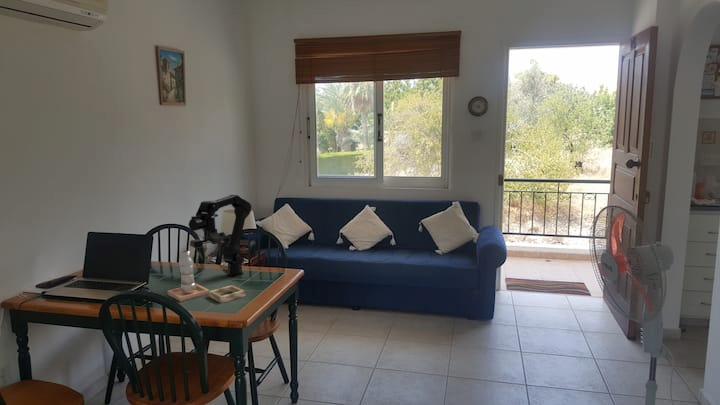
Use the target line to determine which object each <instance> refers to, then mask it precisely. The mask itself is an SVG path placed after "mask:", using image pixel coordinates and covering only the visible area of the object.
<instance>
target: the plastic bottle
mask: <svg viewBox="0 0 720 405" xmlns="http://www.w3.org/2000/svg"><path fill="white" fill-rule="evenodd" d="M190 252H191V251H190V250H187V249H186V250H182V251H180V253H181V254H180V256H181V257H180V259H179V261H178V267H179V271H180V277H181V278H180V282H181V284H180V287H181V291H182V292H183V293H184V294H189V293H193V292H195V290H196V284H197V283H196V282H195V276H194V268H195V266H194V264H195V262H194V259H193V258H192V257H191V253H190Z"/></svg>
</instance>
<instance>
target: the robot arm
mask: <svg viewBox="0 0 720 405" xmlns="http://www.w3.org/2000/svg"><path fill="white" fill-rule="evenodd" d="M226 206H231V207H232V208H233V209H234V210H233V213H234V216H235V218H234V224H233V227H232V231H231V235H228V234H225V232H224V231H223V232H218V228H216V217H218V216H219V214H217V213H216V212H218V211H219V209H222V208H224V207H226ZM251 210H252V204H251V203H250V202H249V201H247V200H246V199H243V198H242V197H241V196H240V195H237V194H230V195H228V196H224V197H222V198H218V199H216V200H204V201H201V202H200V204H199V207H198V209H197V211H196V212H195V213H196V214H195V216H194V215H193V216H191V219H190V220H189V222H188V227H189V229H190V230H191V231H192V232H195V231H199V230H201V231H202V232H203V236H202V239H198V238H197V239H191V240H190V242H189V246H190V247H192V248H193V249H195V250H196V251H197V253H198V255H199V256H200V259H201V260H204V246H203V245H206V244H210V243H211V244H212V245H216V244H217V248H218V249H217V250H218V255H219V257H221V256H222V257H223V260H224V262H225V264H227V267H226V268H227V273H226V274H227V275H228V276H231V277H236V276H240V275H244V274H245V273H244V272H243V267H242V266H243V265H242V264H244V262H245V257H244V256H242V255H241V252H242V251H241V248H240V243H241V239H242V233H243V230H244V227H245V221H246V219H247V218H248V217H249V215H250V214H251ZM226 244H227V245H226Z"/></svg>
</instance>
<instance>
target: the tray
mask: <svg viewBox="0 0 720 405" xmlns="http://www.w3.org/2000/svg"><path fill="white" fill-rule="evenodd" d="M195 284H196V290H195V292H193V293H189V294H184V293H183V292H182V291H181V286H180V287H177V288H172V289H167V295H168V296H169V297H171V298H173V299H175V300H176V301H179V303H180V302H181V303H182V302H184V301H189V300H192V299H196V298H201V297H204V296H207V295H208V296H209V293H208V291H211V290H210V289H208V288H206V287H204V286H202V285H200V284H198V283H195Z"/></svg>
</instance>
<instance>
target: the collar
mask: <svg viewBox="0 0 720 405" xmlns="http://www.w3.org/2000/svg"><path fill="white" fill-rule="evenodd" d="M208 293H209V294H208V298H211V299H213V300H215V301H216V302H219V303H221V304H222V303H225V302H230V301H234V300H236V299H239V298H243V297H246V290H244V289H242V288H239V287H237V286H235V285H233V284H231V285H228V286H224V287H220V288H216V289H212V290H210V291H208Z"/></svg>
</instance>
